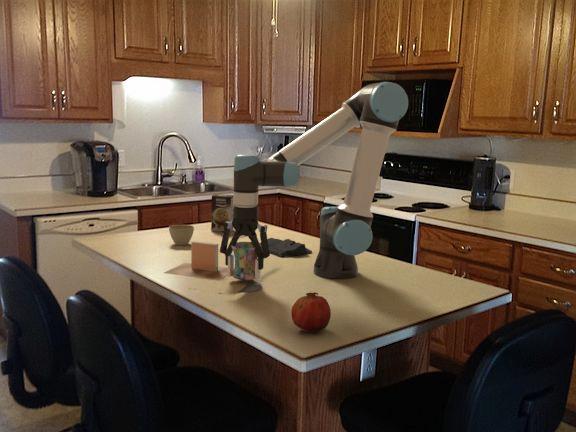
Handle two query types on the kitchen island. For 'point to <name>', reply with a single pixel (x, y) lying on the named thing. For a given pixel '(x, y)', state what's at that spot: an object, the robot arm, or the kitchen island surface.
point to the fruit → (311, 313)
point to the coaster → (252, 287)
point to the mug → (244, 261)
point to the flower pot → (181, 234)
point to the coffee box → (221, 211)
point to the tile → (204, 256)
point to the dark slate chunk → (286, 248)
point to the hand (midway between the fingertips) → (244, 277)
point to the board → (198, 272)
